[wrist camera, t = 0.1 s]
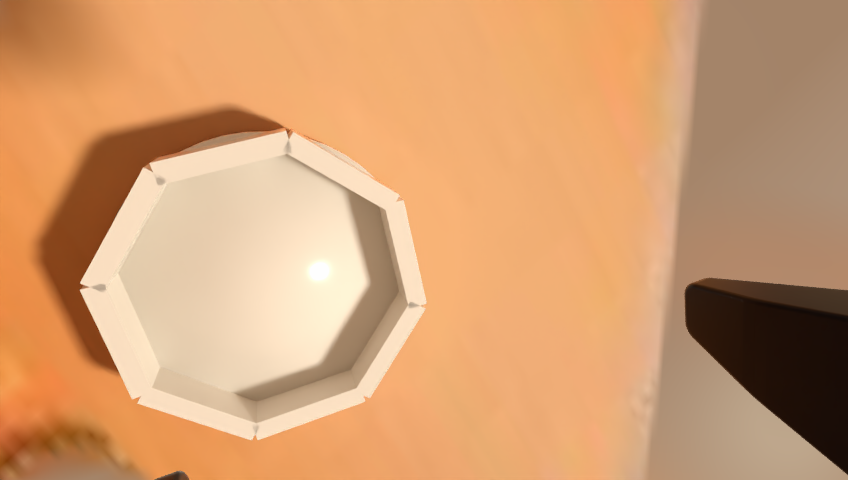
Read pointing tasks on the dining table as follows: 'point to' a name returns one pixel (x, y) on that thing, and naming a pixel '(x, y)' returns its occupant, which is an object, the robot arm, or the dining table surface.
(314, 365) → the saucer
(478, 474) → the dining table surface
